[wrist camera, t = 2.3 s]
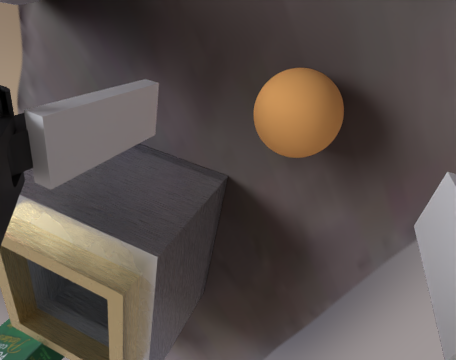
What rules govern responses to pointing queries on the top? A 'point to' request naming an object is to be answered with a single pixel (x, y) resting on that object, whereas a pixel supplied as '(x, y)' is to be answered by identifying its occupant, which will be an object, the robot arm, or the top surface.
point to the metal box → (112, 255)
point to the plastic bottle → (19, 1)
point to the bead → (298, 112)
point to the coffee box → (23, 346)
